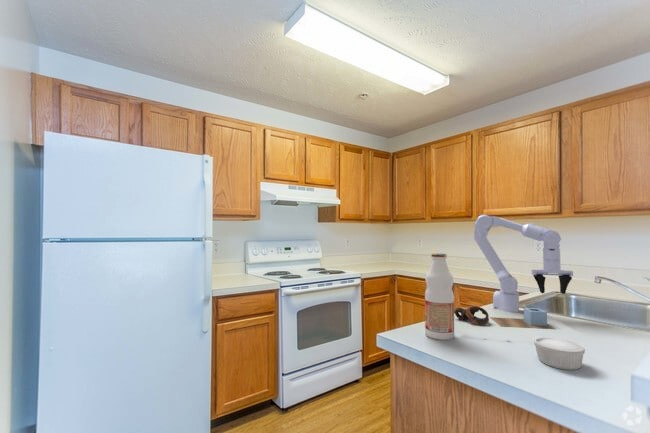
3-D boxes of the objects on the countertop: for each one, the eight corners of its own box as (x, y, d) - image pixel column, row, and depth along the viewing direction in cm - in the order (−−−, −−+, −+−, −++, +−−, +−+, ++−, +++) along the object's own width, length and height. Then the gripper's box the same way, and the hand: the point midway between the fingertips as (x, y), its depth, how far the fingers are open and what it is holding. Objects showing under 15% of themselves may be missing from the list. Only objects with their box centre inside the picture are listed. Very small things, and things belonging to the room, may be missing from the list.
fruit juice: (437, 342, 103) (437, 255, 104) (419, 332, 112) (419, 252, 113) (460, 338, 106) (459, 254, 107) (441, 330, 115) (440, 252, 116)
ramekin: (537, 351, 95) (536, 334, 96) (585, 362, 88) (585, 342, 88) (531, 364, 87) (531, 344, 87) (584, 376, 80) (584, 355, 80)
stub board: (500, 330, 115) (500, 316, 115) (489, 321, 126) (489, 308, 127) (556, 333, 112) (555, 319, 112) (539, 323, 124) (538, 310, 124)
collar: (530, 325, 116) (530, 311, 116) (524, 321, 121) (523, 307, 122) (547, 326, 115) (546, 312, 115) (539, 321, 120) (539, 308, 121)
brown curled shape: (485, 323, 125) (491, 308, 121) (484, 341, 117) (490, 325, 113) (453, 312, 129) (458, 297, 125) (449, 328, 122) (455, 313, 118)
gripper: (537, 260, 128) (537, 294, 128) (577, 261, 126) (578, 295, 125) (528, 258, 135) (529, 291, 135) (567, 259, 133) (567, 292, 132)
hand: (552, 293), depth 130 cm, fingers open, 7 cm apart
